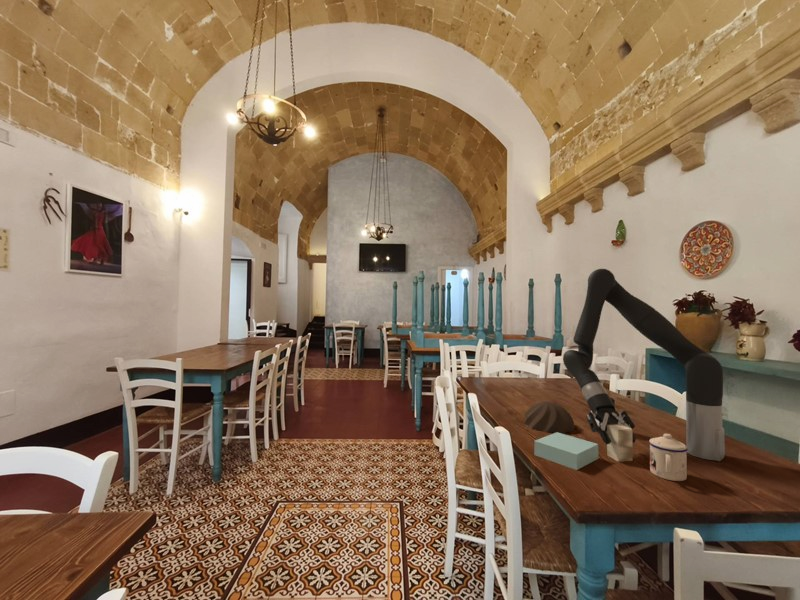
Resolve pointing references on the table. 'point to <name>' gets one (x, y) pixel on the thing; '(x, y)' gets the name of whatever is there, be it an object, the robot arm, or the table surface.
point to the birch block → (620, 442)
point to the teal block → (566, 450)
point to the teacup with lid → (668, 458)
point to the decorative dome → (549, 418)
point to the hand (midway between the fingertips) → (621, 442)
